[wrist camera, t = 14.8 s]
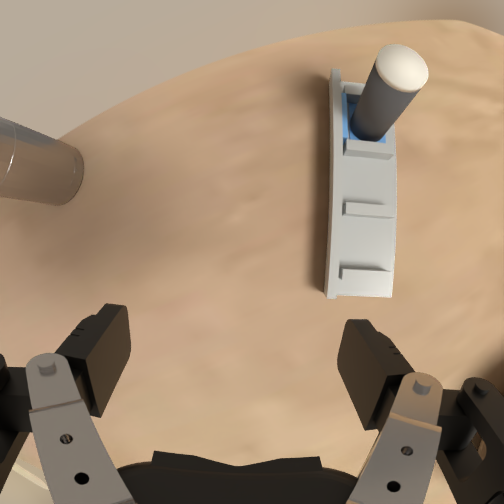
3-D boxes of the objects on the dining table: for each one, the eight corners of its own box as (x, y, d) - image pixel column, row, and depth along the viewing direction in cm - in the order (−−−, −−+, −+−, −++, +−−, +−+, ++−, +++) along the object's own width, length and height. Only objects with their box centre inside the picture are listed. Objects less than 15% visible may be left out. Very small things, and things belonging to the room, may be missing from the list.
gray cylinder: (350, 140, 34) (380, 82, 20) (349, 107, 34) (374, 40, 20) (385, 145, 34) (431, 93, 19) (384, 112, 33) (423, 49, 19)
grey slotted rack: (323, 293, 36) (327, 298, 32) (328, 84, 35) (331, 68, 31) (389, 296, 35) (399, 301, 31) (388, 90, 34) (396, 76, 30)
